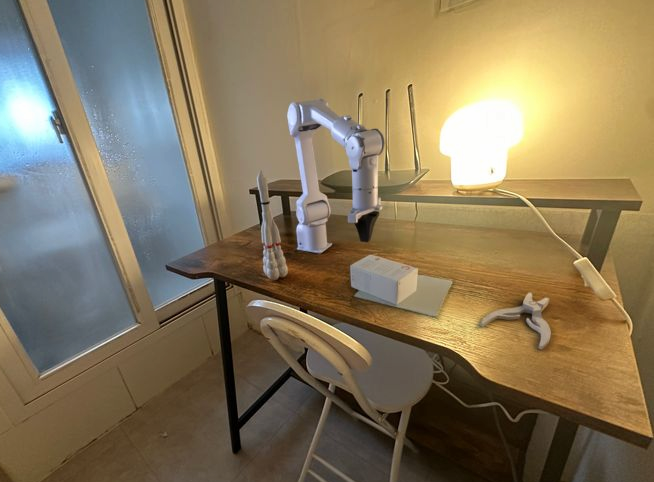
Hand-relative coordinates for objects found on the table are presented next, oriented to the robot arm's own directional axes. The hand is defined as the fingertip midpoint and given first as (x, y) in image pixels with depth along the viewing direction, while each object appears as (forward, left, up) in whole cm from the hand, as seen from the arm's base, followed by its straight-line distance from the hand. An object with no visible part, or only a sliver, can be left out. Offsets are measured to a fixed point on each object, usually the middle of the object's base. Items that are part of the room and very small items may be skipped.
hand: (365, 241), depth 76 cm
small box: (0, -3, -7) cm, 8 cm away
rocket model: (-22, -10, -11) cm, 27 cm away
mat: (+11, -2, -10) cm, 15 cm away
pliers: (+34, -3, -11) cm, 35 cm away
